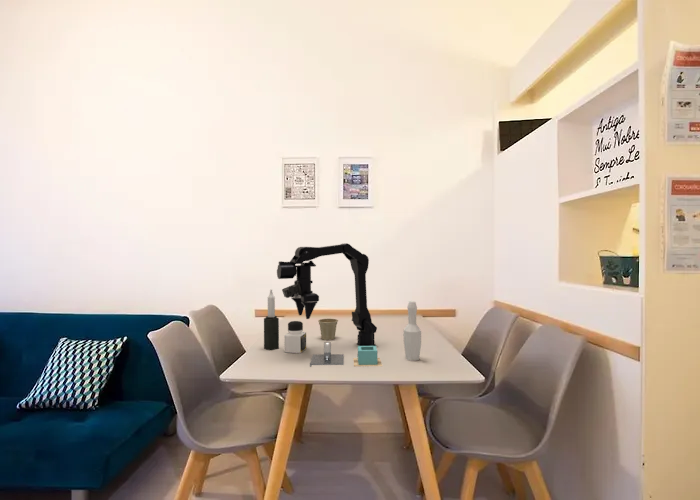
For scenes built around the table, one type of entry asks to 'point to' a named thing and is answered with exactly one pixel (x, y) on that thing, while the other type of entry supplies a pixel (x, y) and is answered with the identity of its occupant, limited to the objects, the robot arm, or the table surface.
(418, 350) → the grey bottle
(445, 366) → the table surface
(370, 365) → the stand
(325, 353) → the silver peg base
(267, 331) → the black and white bottle
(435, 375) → the table surface
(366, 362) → the collar
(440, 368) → the table surface
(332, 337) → the flower pot
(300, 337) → the medicine bottle
